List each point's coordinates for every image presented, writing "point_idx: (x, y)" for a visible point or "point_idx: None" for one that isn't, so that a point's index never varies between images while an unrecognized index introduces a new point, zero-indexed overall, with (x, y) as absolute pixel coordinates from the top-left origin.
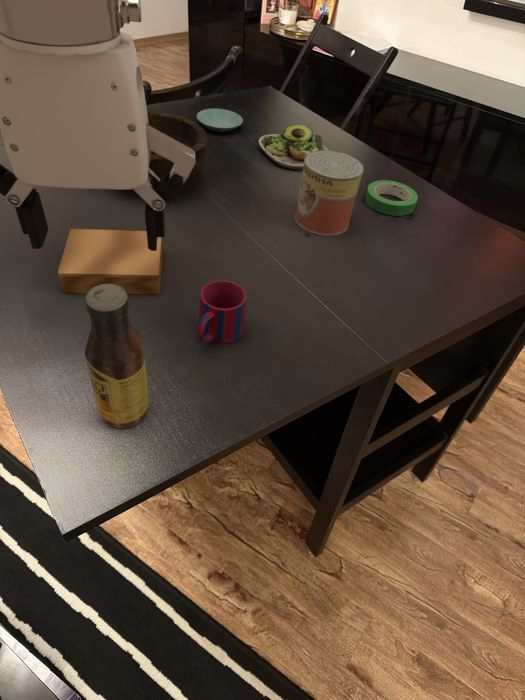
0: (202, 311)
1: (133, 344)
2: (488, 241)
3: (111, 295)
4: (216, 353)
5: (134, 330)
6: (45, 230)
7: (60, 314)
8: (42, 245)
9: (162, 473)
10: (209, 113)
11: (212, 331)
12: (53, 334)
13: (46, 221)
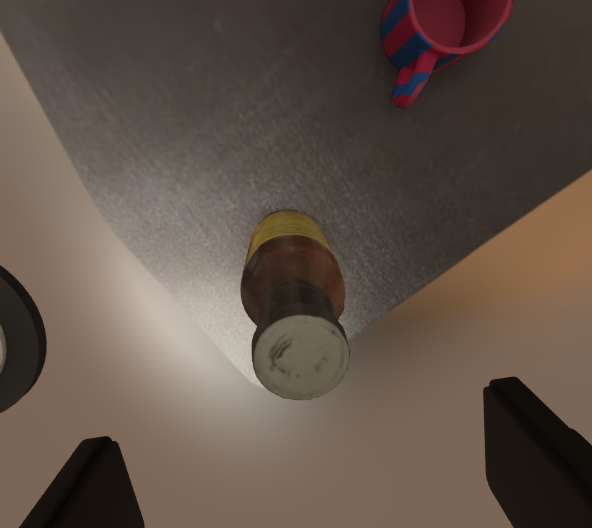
0: (405, 38)
1: (337, 316)
2: None
3: (311, 354)
4: (415, 101)
5: (334, 289)
6: (117, 476)
7: (110, 36)
8: (141, 520)
9: (355, 327)
10: None
11: (415, 66)
12: (121, 95)
13: (100, 459)
